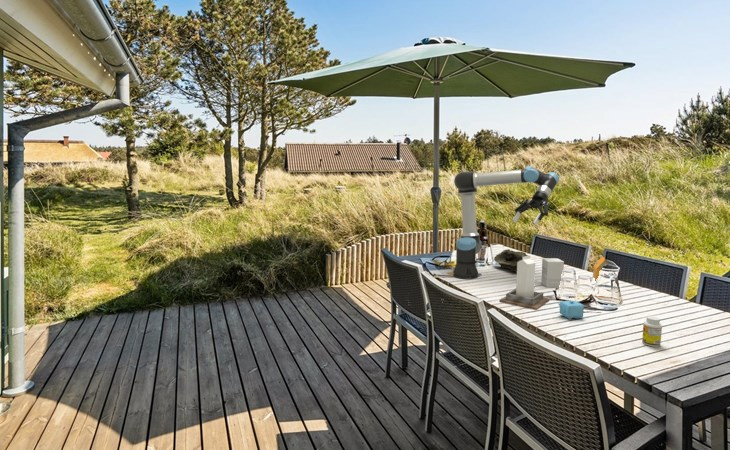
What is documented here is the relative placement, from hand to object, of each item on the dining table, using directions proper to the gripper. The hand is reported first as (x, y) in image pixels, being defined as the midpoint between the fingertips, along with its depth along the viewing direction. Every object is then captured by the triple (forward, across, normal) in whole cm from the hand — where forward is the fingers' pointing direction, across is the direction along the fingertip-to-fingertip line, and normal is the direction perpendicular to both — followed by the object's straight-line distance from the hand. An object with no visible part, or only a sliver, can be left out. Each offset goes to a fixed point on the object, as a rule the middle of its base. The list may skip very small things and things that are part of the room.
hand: (524, 222), depth 222 cm
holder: (+43, -20, -8) cm, 48 cm away
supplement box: (+17, -11, -34) cm, 39 cm away
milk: (+42, -20, -7) cm, 47 cm away
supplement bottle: (+46, -77, -5) cm, 89 cm away
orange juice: (+13, -35, -38) cm, 53 cm away
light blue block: (+45, -44, -6) cm, 63 cm away
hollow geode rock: (+9, +24, -42) cm, 49 cm away
